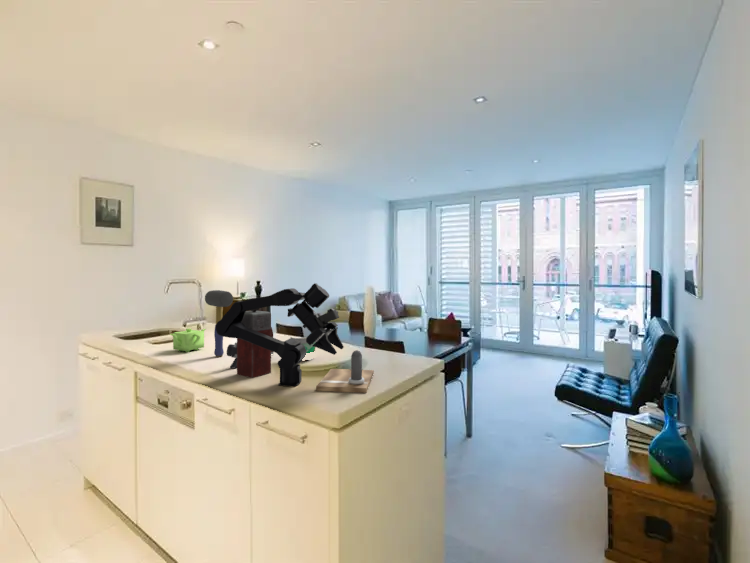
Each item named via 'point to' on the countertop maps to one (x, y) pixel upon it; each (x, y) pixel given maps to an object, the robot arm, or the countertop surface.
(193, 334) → the teapot
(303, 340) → the food container
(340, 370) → the board
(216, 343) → the rubber mallet
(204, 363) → the countertop surface
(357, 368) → the grey domed cylinder
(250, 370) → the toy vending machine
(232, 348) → the gun
